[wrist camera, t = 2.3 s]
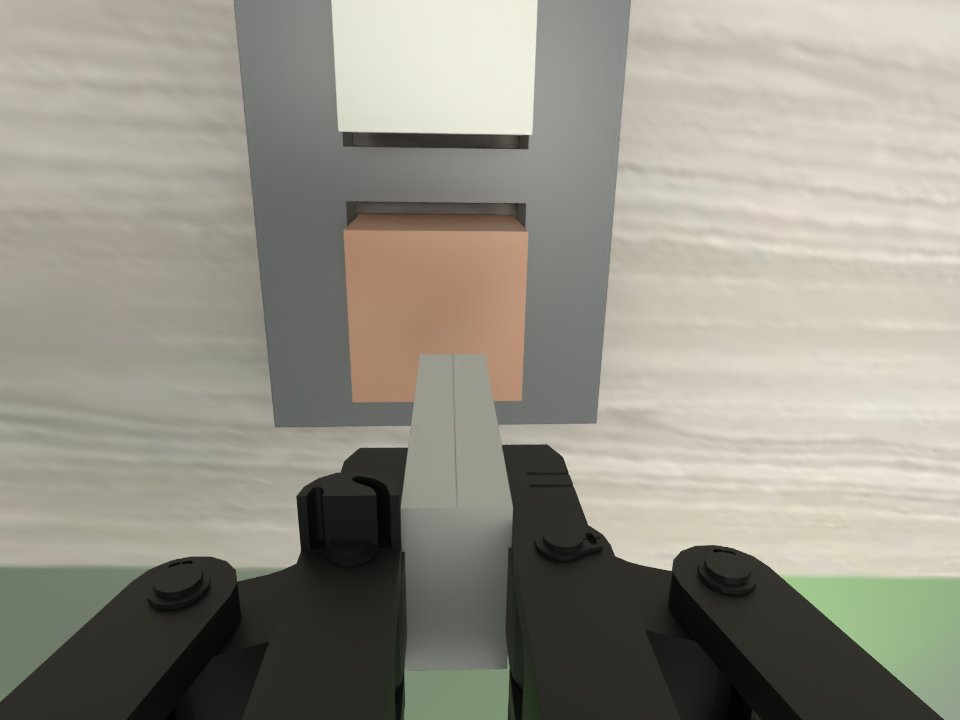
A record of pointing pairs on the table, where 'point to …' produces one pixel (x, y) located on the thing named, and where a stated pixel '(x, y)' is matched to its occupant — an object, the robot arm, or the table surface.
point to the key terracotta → (434, 298)
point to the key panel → (431, 178)
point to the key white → (435, 66)
